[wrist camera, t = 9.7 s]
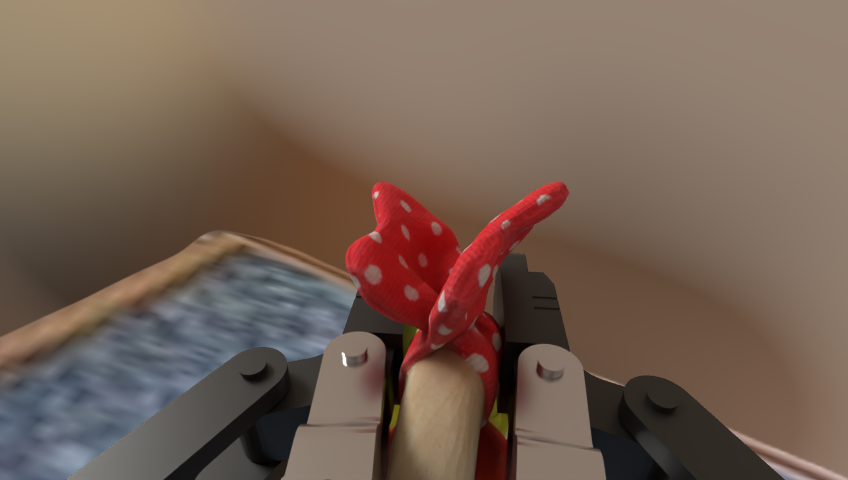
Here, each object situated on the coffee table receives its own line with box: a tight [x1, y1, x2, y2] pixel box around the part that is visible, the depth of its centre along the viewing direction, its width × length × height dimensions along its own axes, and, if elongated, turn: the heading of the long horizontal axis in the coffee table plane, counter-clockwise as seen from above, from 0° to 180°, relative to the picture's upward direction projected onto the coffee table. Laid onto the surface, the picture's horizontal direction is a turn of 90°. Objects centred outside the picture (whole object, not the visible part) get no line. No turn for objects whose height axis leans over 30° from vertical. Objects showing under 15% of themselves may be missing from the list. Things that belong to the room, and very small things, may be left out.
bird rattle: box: [346, 182, 569, 480], centre depth 11 cm, size 6×11×9 cm
